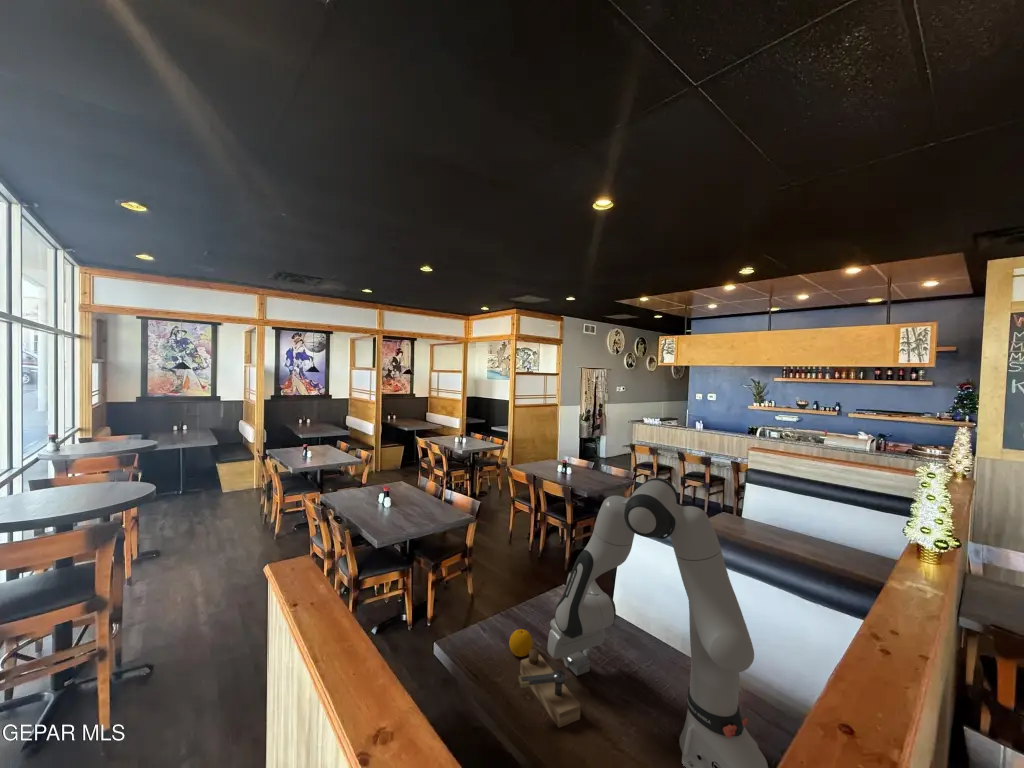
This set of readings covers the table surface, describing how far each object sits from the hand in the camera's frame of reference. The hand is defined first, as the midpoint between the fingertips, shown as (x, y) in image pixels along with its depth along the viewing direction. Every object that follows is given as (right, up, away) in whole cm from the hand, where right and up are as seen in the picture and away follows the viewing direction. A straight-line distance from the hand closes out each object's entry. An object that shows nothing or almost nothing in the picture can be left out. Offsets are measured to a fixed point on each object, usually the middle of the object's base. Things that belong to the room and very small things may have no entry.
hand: (575, 662), depth 131 cm
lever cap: (0, -1, 0) cm, 1 cm away
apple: (-17, -2, +8) cm, 19 cm away
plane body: (-10, -3, -9) cm, 14 cm away
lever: (-12, +5, -15) cm, 20 cm away
